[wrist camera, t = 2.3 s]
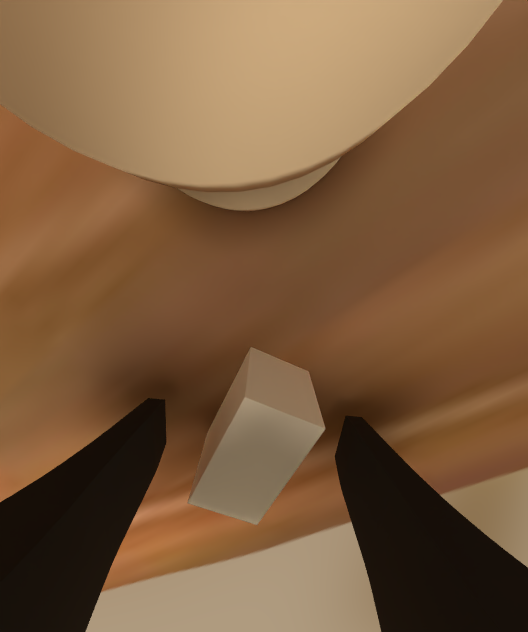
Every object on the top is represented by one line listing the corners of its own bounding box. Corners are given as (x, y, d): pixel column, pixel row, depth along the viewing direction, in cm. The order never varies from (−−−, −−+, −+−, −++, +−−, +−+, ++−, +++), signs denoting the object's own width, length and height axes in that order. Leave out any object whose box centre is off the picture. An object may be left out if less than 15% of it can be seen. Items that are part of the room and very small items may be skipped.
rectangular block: (308, 369, 10) (325, 428, 7) (259, 449, 12) (257, 525, 9) (250, 345, 10) (244, 397, 7) (207, 430, 11) (187, 502, 8)
